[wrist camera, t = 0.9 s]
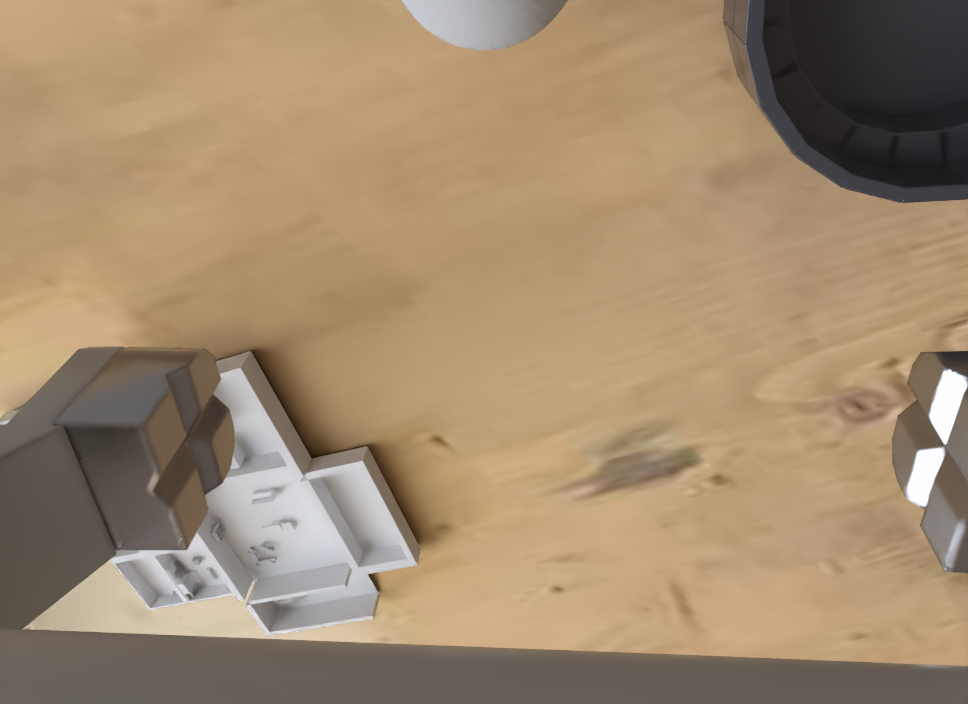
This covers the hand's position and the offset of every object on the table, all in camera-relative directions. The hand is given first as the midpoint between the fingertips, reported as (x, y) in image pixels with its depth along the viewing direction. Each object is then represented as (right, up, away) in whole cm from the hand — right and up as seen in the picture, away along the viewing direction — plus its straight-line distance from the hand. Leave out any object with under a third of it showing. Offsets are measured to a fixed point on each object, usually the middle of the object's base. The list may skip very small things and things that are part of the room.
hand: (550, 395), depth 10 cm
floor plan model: (-13, -7, +37) cm, 40 cm away
